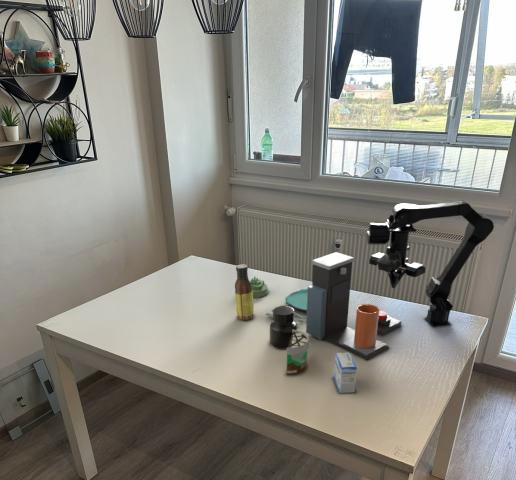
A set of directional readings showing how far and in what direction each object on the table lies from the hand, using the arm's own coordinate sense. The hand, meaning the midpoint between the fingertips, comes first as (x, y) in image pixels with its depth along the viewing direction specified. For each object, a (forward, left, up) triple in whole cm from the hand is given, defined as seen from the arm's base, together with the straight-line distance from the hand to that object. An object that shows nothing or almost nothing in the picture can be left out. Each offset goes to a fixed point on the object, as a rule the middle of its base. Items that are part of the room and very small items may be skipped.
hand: (393, 287), depth 168 cm
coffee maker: (+20, +10, -13) cm, 26 cm away
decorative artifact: (+42, -36, -13) cm, 57 cm away
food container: (+40, +23, -13) cm, 48 cm away
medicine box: (+30, +35, -13) cm, 48 cm away
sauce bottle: (+50, -15, -13) cm, 54 cm away
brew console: (+5, +3, -13) cm, 14 cm away
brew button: (+5, +3, -10) cm, 11 cm away
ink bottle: (+41, +7, -13) cm, 43 cm away
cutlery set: (+27, -17, -13) cm, 35 cm away
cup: (+16, +16, -11) cm, 25 cm away
